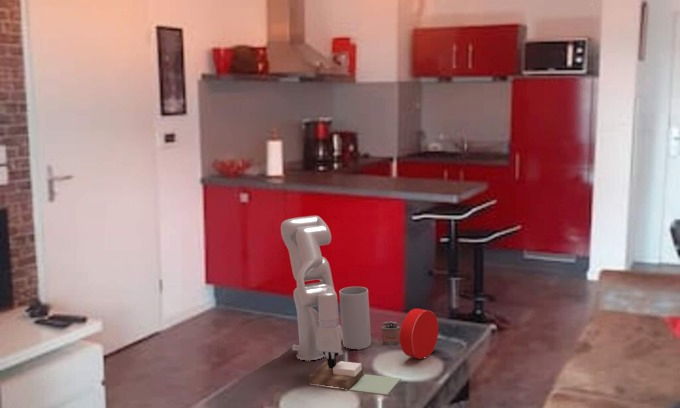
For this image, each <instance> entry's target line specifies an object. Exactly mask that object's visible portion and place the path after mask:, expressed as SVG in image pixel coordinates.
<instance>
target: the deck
mask: <svg viewBox="0 0 680 408" xmlns="http://www.w3.org/2000/svg"><path fill="white" fill-rule="evenodd" d="M338 363H339V362H338V361H336V365H337V364H338ZM363 376H364V375H363V369H362V370H361V371H360V372H359V373H358V374H357V375H356V376H355V377H354V376H346V375H338V374H333V369H331V368H329V366H328V361H327V360H325V361H324V362H323V363H322V364H321V365H319V366H318V367H317V368H316V369H315V370H314V371H313V372H312V373H310V374H309V375H308V378H309V384H310V383H311V384H319V385H325V386H333V387H339V388H344V389H347V390H346V391H348V390H350V389H351V388H352V387H353V386H354V385H355V384H356V383H357V382H358V381H359V380H360V379H361V378H362V377H363Z"/></svg>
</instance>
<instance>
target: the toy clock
mask: <svg viewBox="0 0 680 408" xmlns="http://www.w3.org/2000/svg"><path fill="white" fill-rule="evenodd" d="M438 339H439V323H438V318H437V316H436V314H435V313H434V312H433V311H431V310H428V309H423V308H422V309H421V308H413V309H411V310H409V312H408V313H407V314H406V315H405V317H404V319H403V321H402V324H401V326H400V344H399V345H400V348H401V350H402V352H403V353H404V355H406V356H408V357H410V358H415V359H420V360H422V359H421V358H424V357H427V356H428V357H430V355H431V354H432V353H433V352H434V349H435V348H436V346H437V342H438ZM428 357H427V358H428Z"/></svg>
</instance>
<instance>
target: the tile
mask: <svg viewBox="0 0 680 408" xmlns="http://www.w3.org/2000/svg"><path fill="white" fill-rule="evenodd" d="M337 363H338V364H337V365H336V366H334V367H333V374H338V375H346V376H354V377H355V376H356V375H357V374H358V373H359V372H360V371H361V370H363V365H362V363H361V362H360V363H359V362H351V361H343V360H341V361H339V362H337Z"/></svg>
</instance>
